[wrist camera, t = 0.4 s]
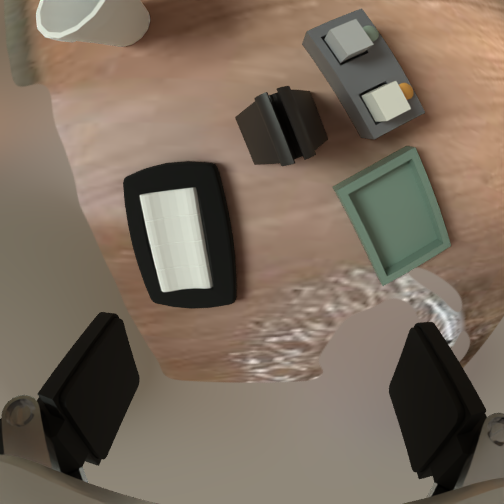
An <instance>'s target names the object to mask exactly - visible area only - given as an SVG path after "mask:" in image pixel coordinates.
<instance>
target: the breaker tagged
mask: <svg viewBox="0 0 504 504" xmlns="http://www.w3.org/2000/svg"><path fill="white" fill-rule="evenodd" d="M361 97H362V99H363V101H364V102H365V104H366V106H367V108H368V109H369V111H370V113H371V115H372V117H373V118H374V120H375V122H376V121H388V120H390V119H392V118H394V117H396V116H398V115H400V114H402V113H404V112H406V111H408V110H410V109H411V107H410V105H409V104H408V102H407V100H406V98H405V96H404V94H403V92H402V90H401V89H400V87H399V85H398V83H397V81H394V82H391V83H388V84H385V85H383V86H381V87H378V88H376V89H374V90H372V91H370V92H368V93H366V94H364V95H362V96H361Z"/></svg>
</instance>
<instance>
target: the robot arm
mask: <svg viewBox="0 0 504 504" xmlns="http://www.w3.org/2000/svg"><path fill="white" fill-rule="evenodd" d="M138 385H139V374H138V371H137V368H136V365H135V361H134V358H133V355H132V351H131V348H130V345H129V341H128V337H127V334H126V330H125V326H124V323H123V320H121V319H119V317H118V315H117V314H114V313H105V312H101V313H99V314H98V315H97V316H96V318H95V319H94V320H93V321H92V322H91V324H90V325H89V326H88V327H87V329H86V330H85V331H84V333H83V334H82V335H81V336H80V338H79V339H78V340H77V341H76V343H75V344H74V345H73V346H72V348H71V349H70V351H69V352H68V353H67V354H66V356H65V357H64V358H63V360H62V361H61V362H60V364H59V365H58V367H57V368H56V369H55V370H54V372H53V373H52V374H51V376H50V377H49V379H48V380H47V381H46V383H45V384H44V386H43V387H42V388H41V390H40V391H39V393H38V395H39V398H38V400H37V401H36V400H35V398H33V397H31V396H27V395H21V396H17V397H15V398H12V399H11V400H10V401H8V403H7V404H6V405H5V406H4V408H3V411H2V418H1V419H0V504H157V503H153V502H149V501H145V500H141V499H137V498H134V497H130V496H127V495H123V494H120V493H117V492H113V491H110V490H107V489H104V488H101V487H98V486H95V485H92V484H89V483H88V481H87V478H86V475H85V473H84V470H83V467H82V466H83V464H84V462H85V461H86V462H89V463H92V464H95V465H99V464H100V462H101V459H105V458H106V457H107V455H108V452H109V450H110V448H111V446H112V443H113V441H114V439H115V436H116V434H117V432H118V430H119V427H120V425H121V423H122V421H123V418H124V416H125V414H126V412H127V409H128V407H129V405H130V403H131V401H132V398H133V396H134V394H135V392H136V390H137V388H138ZM389 394H390V397H391V400H392V403H393V406H394V409H395V413H396V416H397V419H398V422H399V425H400V429H401V432H402V435H403V439H404V442H405V445H406V449H407V452H408V456H409V460H410V463H411V467H412V470H413V471H414V472H417V474H418V478H419V479H422V478H426V477H430V476H433V478H434V484H433V486H432V488H431V490H430V492H429V494H428V496H427V498H425V499H421V500H416V501H412V502H408V503H404V504H504V414H503V413H494V414H492V415H490V416H488V417H486V414H485V412H486V409H485V407H484V405H483V403H482V401H481V399H480V398H479V396H478V394H477V392H476V390H475V389H474V387H473V385H472V383H471V381H470V380H469V378H468V377H467V375H466V373H465V371H464V370H463V368H462V366H461V365H460V363H459V361H458V360H457V358H456V356H455V355H454V353H453V352H452V350H451V348H450V347H449V345H448V344H447V342H446V341H445V339H444V337H443V336H442V334H441V333H440V331H439V330H438V328H437V327H436V325H435V324H434V323H433V322H423V323H417V324H415V326H414V328H411V329H410V331H409V334H408V337H407V340H406V343H405V346H404V348H403V351H402V354H401V357H400V359H399V362H398V365H397V367H396V370H395V373H394V376H393V378H392V380H391V383H390V386H389Z"/></svg>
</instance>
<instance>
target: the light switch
mask: <svg viewBox="0 0 504 504" xmlns="http://www.w3.org/2000/svg"><path fill="white" fill-rule="evenodd" d="M123 187H124V199H125V207H126V214H127V220H128V226H129V231H130V236H131V240H132V245H133V249H134V252H135V256H136V259H137V263H138V266H139V269H140V272H141V275H142V278H143V280H144V283H145V286H146V288H147V291H148V293H149V295H150V298H151V300H152V301H153V302H155V303H157V304H162V305H167V306H172V307H181V308H211V307H217V306H223V305H229V304H232V303H234V302H235V300H236V265H235V253H234V244H233V236H232V230H231V224H230V218H229V213H228V208H227V204H226V199H225V194H224V190H223V186H222V182H221V179H220V175H219V171H218V168H217V166H216V165H215V164H213V163H207V162H190V161H187V162H174V163H165V164H161V165H157V166H153V167H149V168H146V169H143V170H141V171H138V172H136V173H134V174H131V175H129V176H127V177H126V178H125V179H124V182H123Z"/></svg>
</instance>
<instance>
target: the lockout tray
mask: <svg viewBox="0 0 504 504" xmlns="http://www.w3.org/2000/svg"><path fill="white" fill-rule="evenodd" d="M333 189H334V191H335V193H336V195H337V196H338V198H339V200H340V202H341V204H342V206H343V208H344V210H345V211H346V213H347V215H348V217H349V219H350V221H351V223H352V225H353V227H354V229H355V231H356V233H357V235H358V237H359V239H360V241H361V243H362V245H363V247H364V249H365V251H366V253H367V256H368V258H369V260H370V262H371V264H372V266H373V268H374V271H375V273H376V275H377V277H378V279H379V281H380V282H381V284H382V285H383V286H384V285H386V284H388V283H390V282H391V281H393V280H395V279H397V278H398V277H400V276H402V275H404V274H405V273H407V272H409V271H410V270H412V269H414V268H416V267H417V266H419V265H421V264H422V263H424V262H426V261H427V260H429V259H431V258H432V257H434V256H436V255H437V254H439V253H440V252H442V251H444V250H445V249H447V248H448V247H450V246H451V244H450V240H449V237H448V234H447V230H446V227H445V224H444V221H443V218H442V215H441V212H440V209H439V206H438V203H437V200H436V197H435V195H434V192H433V189H432V187H431V184H430V181H429V179H428V176H427V174H426V171H425V169H424V167H423V164H422V162H421V159H420V157H419V155H418V153H417V150H416V148H415V147H411V146H405V147H404V148H402V149H400V150H398V151H396V152H395V153H393V154H391V155H389V156H387V157H385V158H384V159H382V160H380V161H378V162H376V163H375V164H373V165H371V166H369V167H367V168H365V169H364V170H362V171H360V172H358V173H356V174H355V175H353V176H351V177H349V178H348V179H346V180H344V181H342V182H340V183H339V184H337V185H335V186H333Z"/></svg>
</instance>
